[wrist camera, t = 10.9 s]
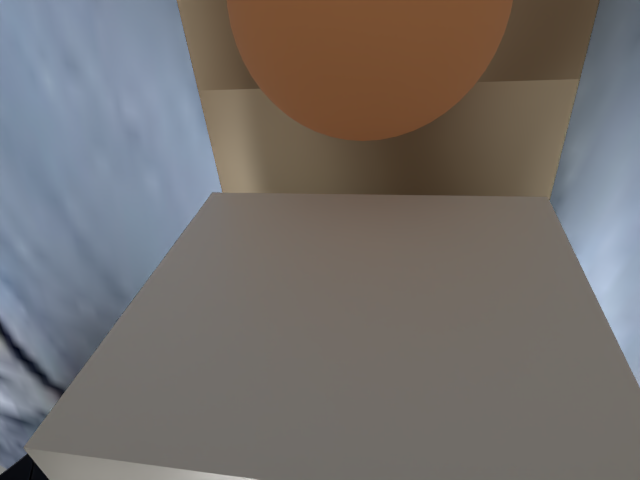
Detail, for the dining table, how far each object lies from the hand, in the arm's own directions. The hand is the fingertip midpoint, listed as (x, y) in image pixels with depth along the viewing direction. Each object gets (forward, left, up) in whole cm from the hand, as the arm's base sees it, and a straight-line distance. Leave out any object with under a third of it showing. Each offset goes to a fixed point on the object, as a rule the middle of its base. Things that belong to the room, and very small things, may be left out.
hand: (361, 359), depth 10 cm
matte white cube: (0, -1, -2) cm, 3 cm away
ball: (0, +7, -3) cm, 7 cm away
